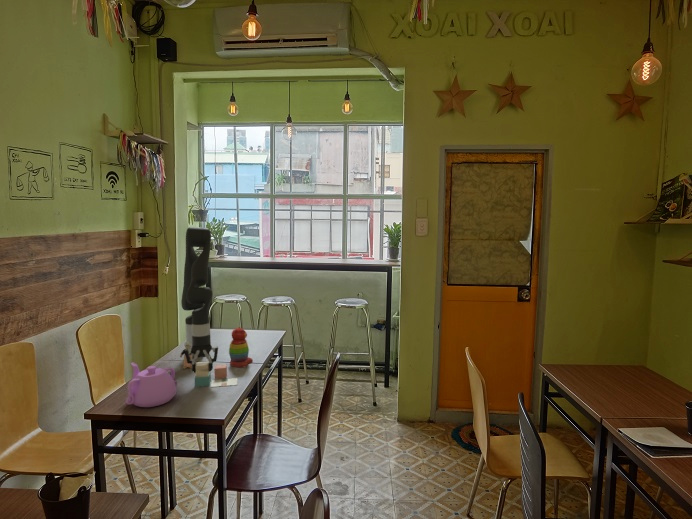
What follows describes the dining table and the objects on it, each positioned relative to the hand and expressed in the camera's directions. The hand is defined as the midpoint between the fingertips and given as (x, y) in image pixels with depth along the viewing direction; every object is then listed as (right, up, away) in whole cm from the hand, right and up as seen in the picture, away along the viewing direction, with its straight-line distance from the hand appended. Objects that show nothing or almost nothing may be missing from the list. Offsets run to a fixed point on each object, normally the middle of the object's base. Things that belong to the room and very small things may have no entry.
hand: (202, 371), depth 192 cm
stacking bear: (+10, -3, +27) cm, 29 cm away
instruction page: (+9, -5, +1) cm, 11 cm away
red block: (+5, -5, +9) cm, 11 cm away
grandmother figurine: (-14, -4, +22) cm, 26 cm away
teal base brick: (0, -5, 0) cm, 6 cm away
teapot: (-16, -7, -16) cm, 24 cm away
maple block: (0, -2, 0) cm, 2 cm away
